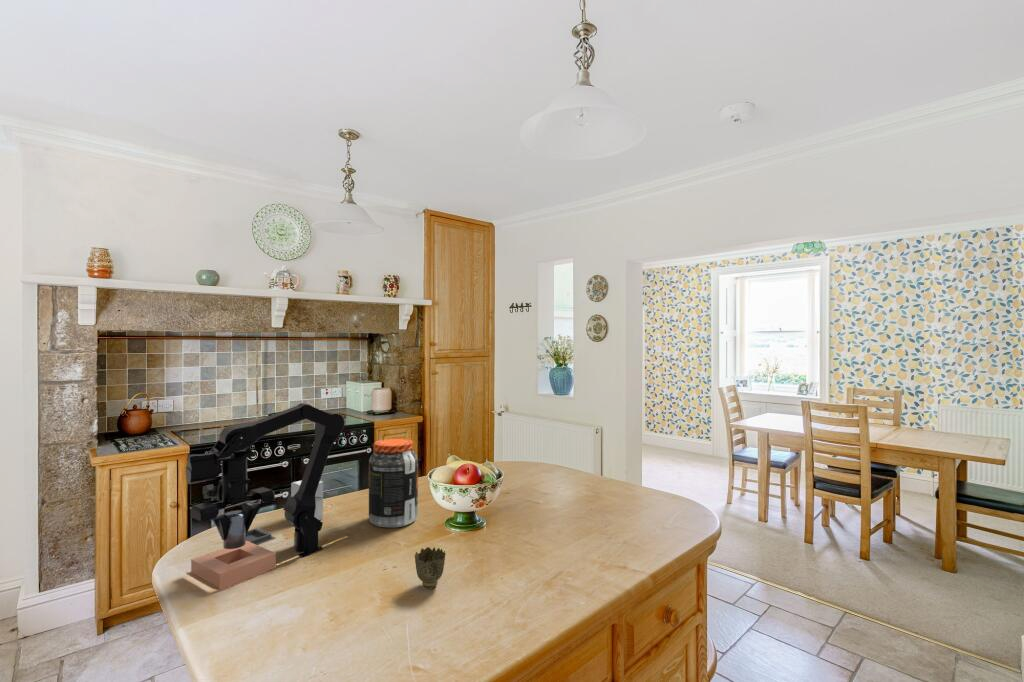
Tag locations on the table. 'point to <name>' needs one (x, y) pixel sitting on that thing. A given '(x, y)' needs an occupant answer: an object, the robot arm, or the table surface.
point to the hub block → (233, 565)
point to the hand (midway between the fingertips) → (234, 536)
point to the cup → (430, 566)
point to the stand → (258, 536)
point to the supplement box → (318, 497)
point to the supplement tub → (393, 483)
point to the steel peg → (235, 530)
